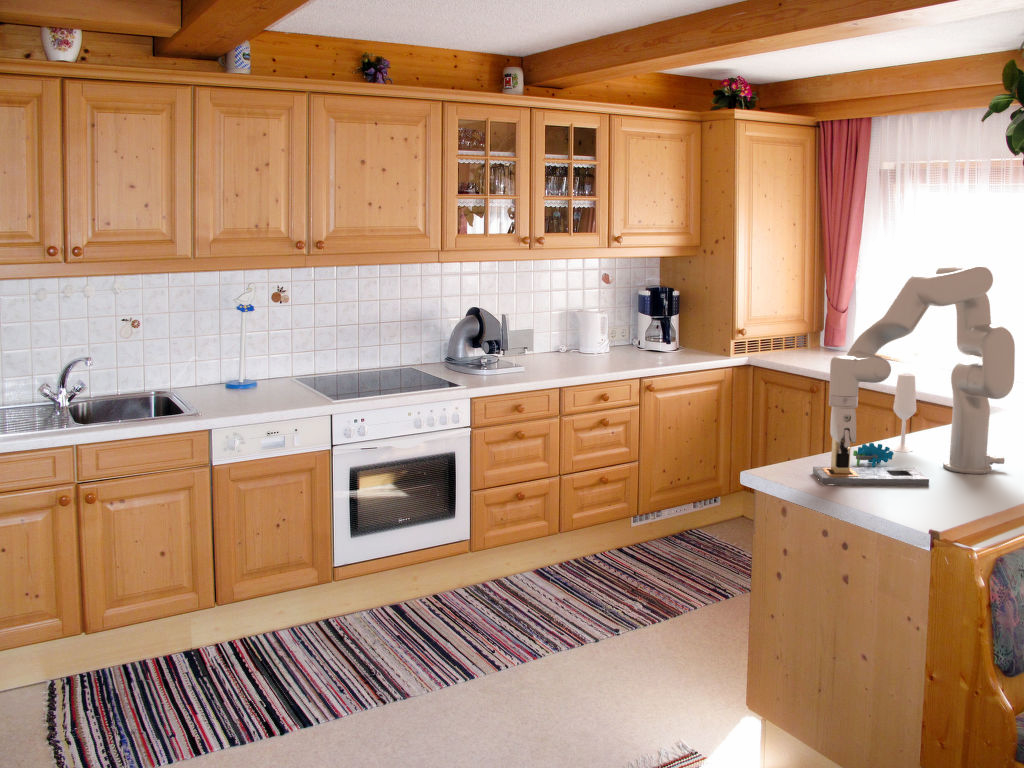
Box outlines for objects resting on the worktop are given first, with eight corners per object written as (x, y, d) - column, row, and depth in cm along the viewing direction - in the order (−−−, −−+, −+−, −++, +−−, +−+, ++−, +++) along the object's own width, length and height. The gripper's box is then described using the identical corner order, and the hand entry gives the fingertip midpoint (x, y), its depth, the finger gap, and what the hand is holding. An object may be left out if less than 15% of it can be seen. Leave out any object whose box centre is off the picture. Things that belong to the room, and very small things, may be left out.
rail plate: (914, 474, 262) (914, 467, 262) (928, 486, 250) (929, 478, 250) (812, 473, 265) (813, 466, 264) (822, 485, 253) (822, 477, 252)
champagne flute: (904, 446, 295) (908, 372, 291) (918, 451, 288) (923, 375, 284) (886, 448, 293) (890, 373, 289) (900, 452, 287) (904, 376, 283)
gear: (897, 459, 272) (889, 440, 266) (895, 476, 269) (887, 458, 263) (858, 459, 279) (850, 441, 272) (856, 476, 276) (847, 458, 269)
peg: (845, 474, 260) (847, 432, 258) (849, 478, 256) (850, 435, 254) (830, 474, 260) (832, 432, 258) (834, 478, 256) (836, 435, 254)
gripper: (865, 406, 246) (862, 473, 249) (849, 395, 262) (846, 458, 265) (836, 406, 247) (833, 473, 250) (822, 395, 263) (819, 457, 266)
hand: (840, 464), depth 257 cm, fingers closed on peg, 3 cm apart
